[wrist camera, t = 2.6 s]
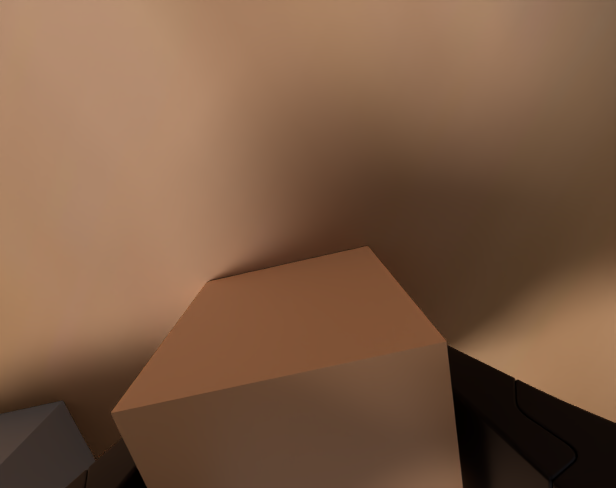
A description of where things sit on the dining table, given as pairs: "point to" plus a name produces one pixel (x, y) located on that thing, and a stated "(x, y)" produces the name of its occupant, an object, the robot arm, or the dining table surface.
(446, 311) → the dining table surface
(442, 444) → the terracotta cube
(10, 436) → the charcoal cube
